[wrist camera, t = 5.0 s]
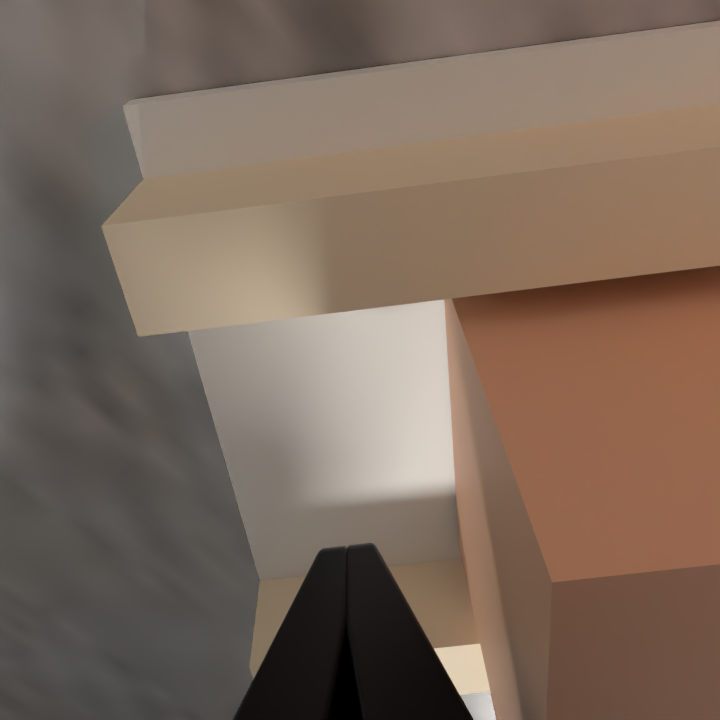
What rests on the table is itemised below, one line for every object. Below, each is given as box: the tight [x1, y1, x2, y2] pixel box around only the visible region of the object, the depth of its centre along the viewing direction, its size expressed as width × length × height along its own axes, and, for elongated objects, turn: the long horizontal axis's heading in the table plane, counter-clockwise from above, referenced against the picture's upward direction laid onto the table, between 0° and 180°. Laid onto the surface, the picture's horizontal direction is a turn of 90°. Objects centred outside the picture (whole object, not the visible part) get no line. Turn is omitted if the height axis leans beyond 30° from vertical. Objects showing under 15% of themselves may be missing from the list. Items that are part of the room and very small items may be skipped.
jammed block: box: [444, 266, 720, 720], centre depth 9 cm, size 5×6×6 cm
